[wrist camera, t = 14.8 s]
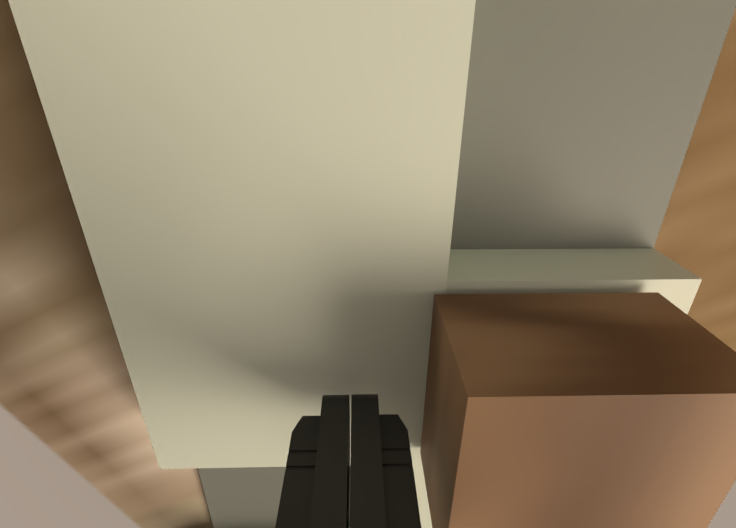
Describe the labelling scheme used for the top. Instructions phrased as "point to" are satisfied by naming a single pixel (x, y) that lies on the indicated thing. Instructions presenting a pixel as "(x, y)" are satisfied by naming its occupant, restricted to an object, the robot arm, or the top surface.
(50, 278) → the top surface
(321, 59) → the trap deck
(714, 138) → the top surface
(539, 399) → the walnut block
